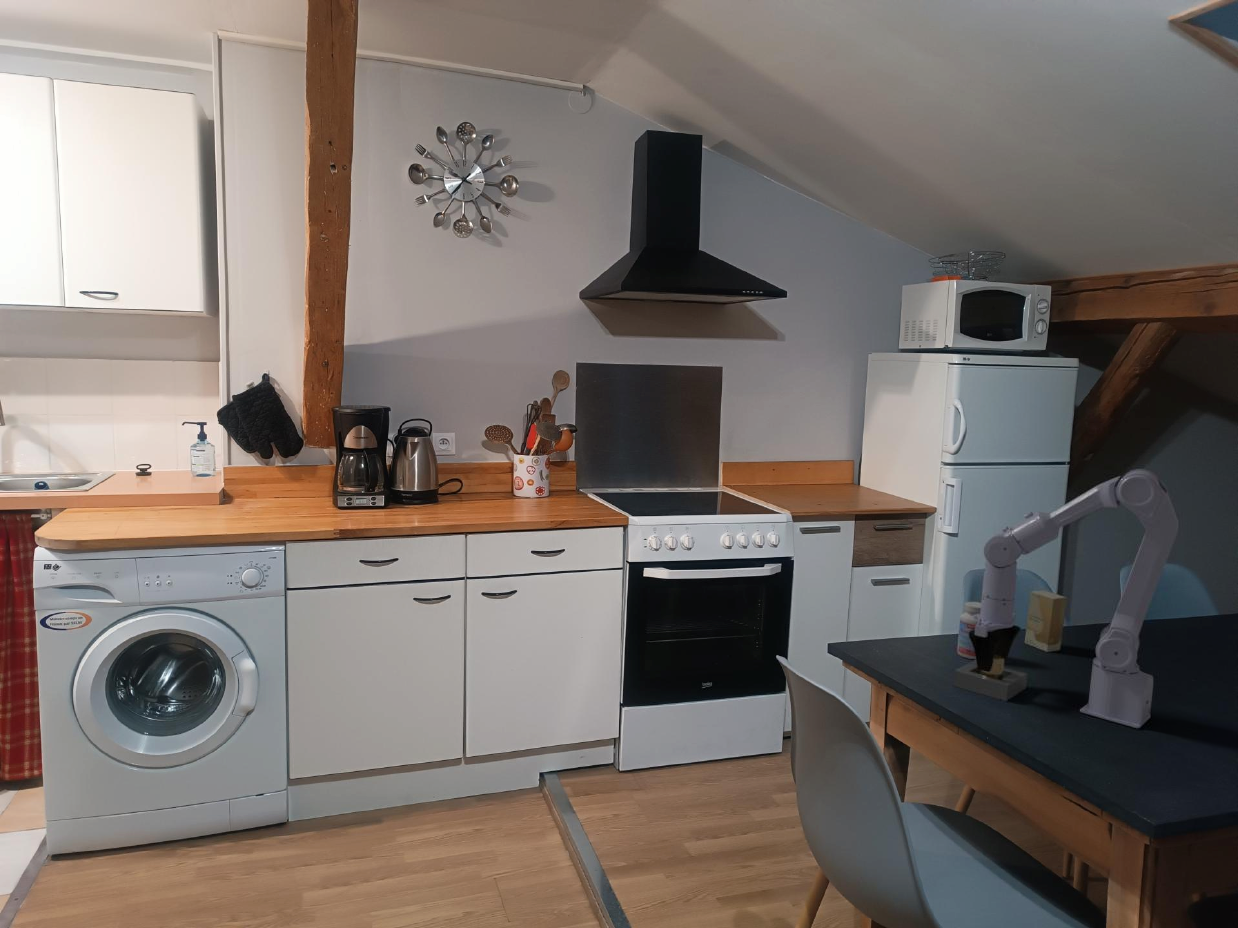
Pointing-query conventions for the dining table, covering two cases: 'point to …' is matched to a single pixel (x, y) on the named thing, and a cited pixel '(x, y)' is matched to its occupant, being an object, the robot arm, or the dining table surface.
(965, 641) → the pill bottle
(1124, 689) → the robot arm
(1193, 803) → the dining table surface
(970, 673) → the coupling block
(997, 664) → the brass cylinder
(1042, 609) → the skincare box
